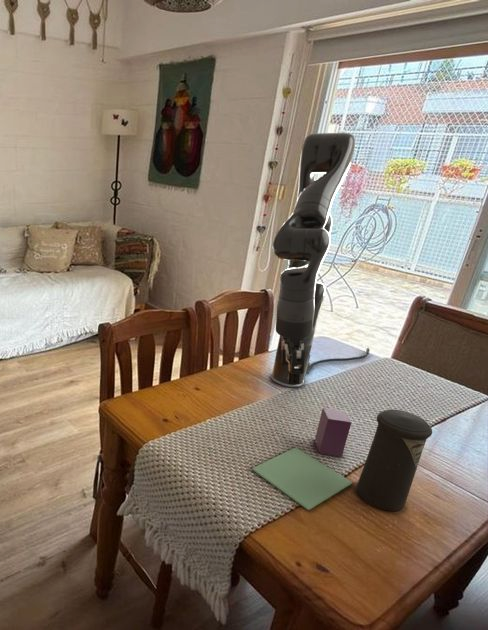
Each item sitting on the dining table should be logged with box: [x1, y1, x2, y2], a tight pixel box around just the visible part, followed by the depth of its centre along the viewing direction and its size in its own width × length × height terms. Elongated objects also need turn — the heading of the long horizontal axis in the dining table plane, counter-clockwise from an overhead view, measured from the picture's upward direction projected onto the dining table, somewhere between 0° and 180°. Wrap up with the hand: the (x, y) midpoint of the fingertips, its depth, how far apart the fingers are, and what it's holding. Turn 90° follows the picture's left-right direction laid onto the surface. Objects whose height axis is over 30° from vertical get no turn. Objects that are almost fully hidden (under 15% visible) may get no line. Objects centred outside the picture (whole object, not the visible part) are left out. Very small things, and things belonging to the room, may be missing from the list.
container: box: [356, 409, 433, 512], centre depth 90 cm, size 9×9×20 cm
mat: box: [251, 447, 353, 511], centre depth 99 cm, size 16×14×1 cm
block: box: [314, 407, 352, 458], centre depth 107 cm, size 5×5×10 cm
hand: (289, 373), depth 106 cm, fingers open, 8 cm apart
